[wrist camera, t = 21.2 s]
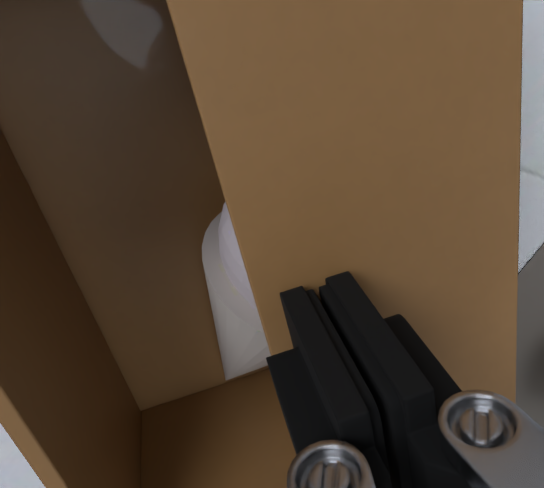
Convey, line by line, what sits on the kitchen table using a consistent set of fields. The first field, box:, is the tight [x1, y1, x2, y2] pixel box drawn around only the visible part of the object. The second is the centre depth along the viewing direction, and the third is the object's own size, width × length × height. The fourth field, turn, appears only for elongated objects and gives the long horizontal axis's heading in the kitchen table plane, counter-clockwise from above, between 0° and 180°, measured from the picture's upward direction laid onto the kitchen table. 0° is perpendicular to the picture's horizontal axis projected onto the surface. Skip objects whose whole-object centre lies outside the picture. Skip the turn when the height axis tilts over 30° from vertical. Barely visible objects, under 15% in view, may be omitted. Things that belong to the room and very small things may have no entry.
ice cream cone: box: [202, 202, 271, 380], centre depth 18 cm, size 6×6×15 cm
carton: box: [0, 0, 296, 488], centre depth 16 cm, size 18×13×8 cm
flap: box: [166, 0, 523, 404], centre depth 12 cm, size 18×6×1 cm, turn 13°
